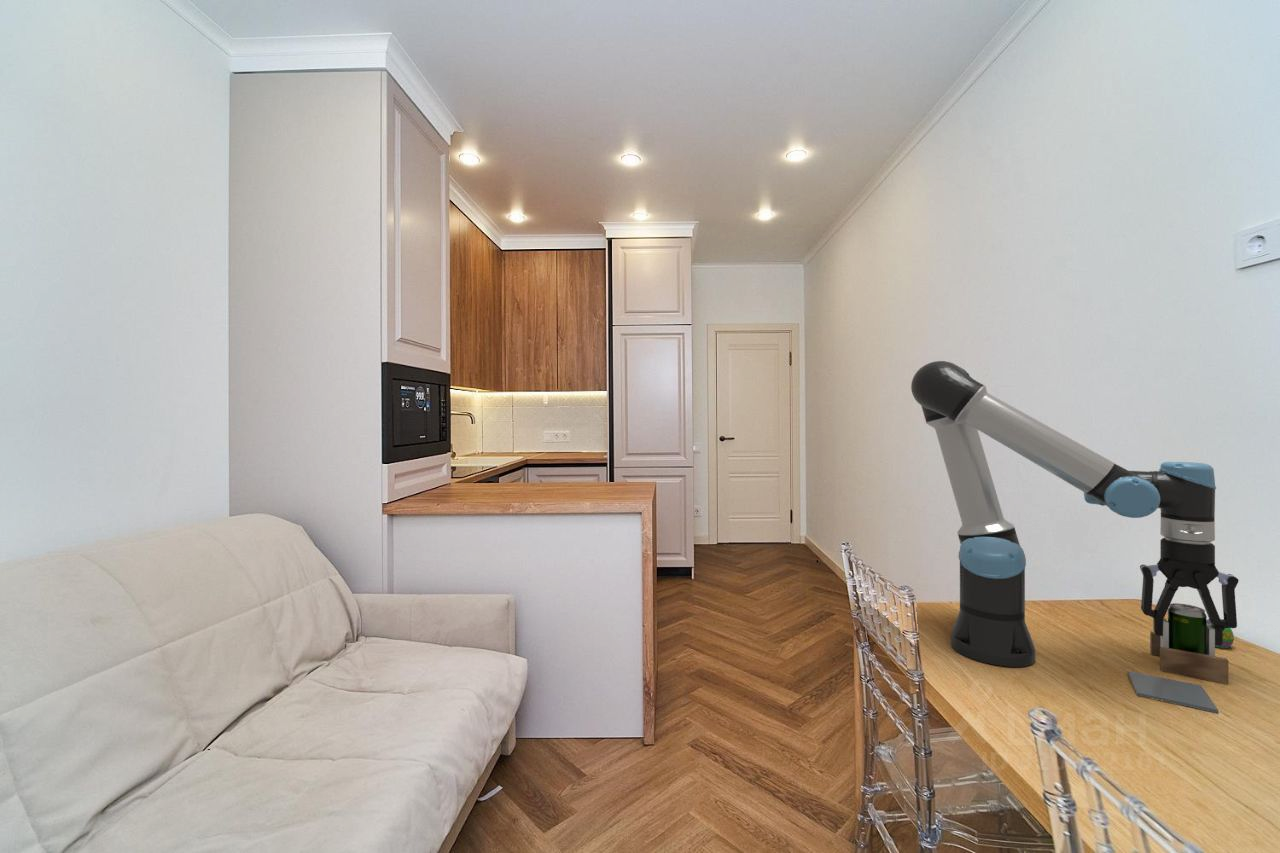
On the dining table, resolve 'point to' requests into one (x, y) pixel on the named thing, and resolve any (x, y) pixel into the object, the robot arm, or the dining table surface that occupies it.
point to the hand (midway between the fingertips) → (1186, 655)
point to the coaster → (1172, 691)
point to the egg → (1225, 637)
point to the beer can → (1187, 628)
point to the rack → (1190, 662)
